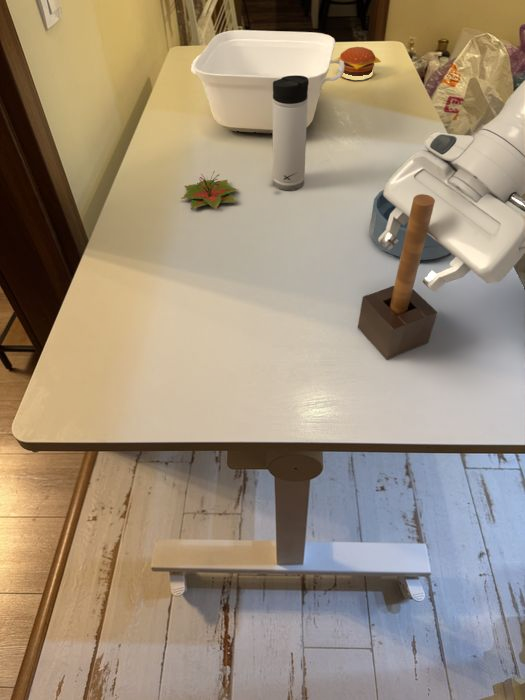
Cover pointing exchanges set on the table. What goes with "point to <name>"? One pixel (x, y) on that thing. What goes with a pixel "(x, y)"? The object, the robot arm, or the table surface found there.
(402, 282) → the stirring stick
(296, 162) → the travel mug
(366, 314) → the holder
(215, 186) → the lily flower
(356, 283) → the table surface
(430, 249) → the bowl
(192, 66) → the white plastic tub
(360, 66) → the hamburger
